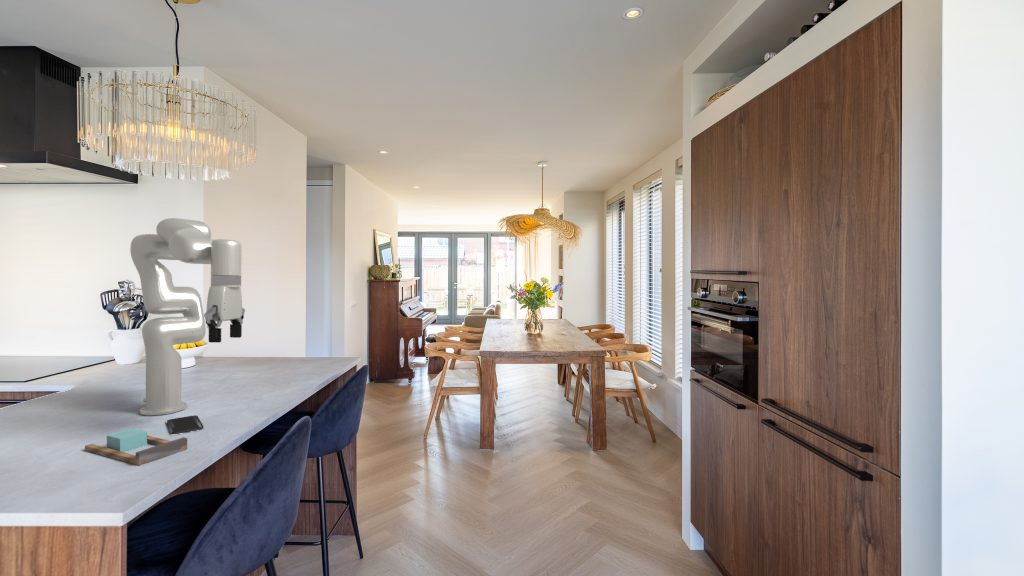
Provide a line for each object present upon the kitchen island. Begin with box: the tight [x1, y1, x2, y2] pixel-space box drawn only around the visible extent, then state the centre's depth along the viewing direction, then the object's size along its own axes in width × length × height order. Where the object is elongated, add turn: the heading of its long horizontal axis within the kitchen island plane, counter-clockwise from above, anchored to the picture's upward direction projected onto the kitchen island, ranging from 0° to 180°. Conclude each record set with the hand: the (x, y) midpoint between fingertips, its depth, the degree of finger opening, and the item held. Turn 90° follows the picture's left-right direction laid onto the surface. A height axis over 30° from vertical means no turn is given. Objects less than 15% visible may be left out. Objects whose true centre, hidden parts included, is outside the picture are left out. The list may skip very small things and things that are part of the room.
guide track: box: [84, 434, 188, 467], centre depth 115 cm, size 23×11×3 cm, turn 69°
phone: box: [166, 414, 204, 435], centre depth 134 cm, size 8×1×15 cm
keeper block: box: [106, 427, 148, 453], centre depth 117 cm, size 6×6×4 cm
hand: (225, 339), depth 128 cm, fingers open, 9 cm apart
